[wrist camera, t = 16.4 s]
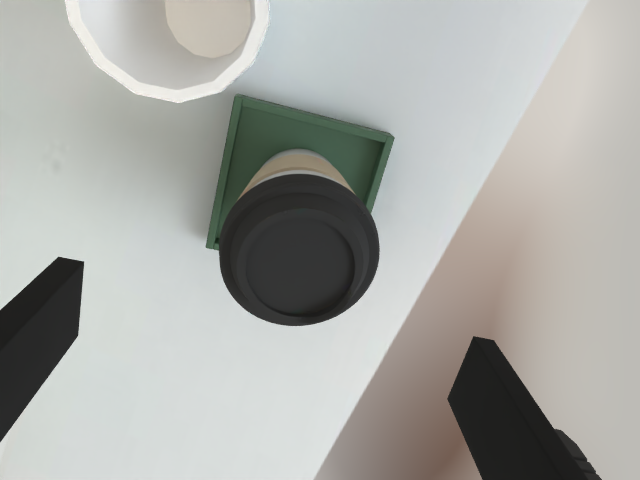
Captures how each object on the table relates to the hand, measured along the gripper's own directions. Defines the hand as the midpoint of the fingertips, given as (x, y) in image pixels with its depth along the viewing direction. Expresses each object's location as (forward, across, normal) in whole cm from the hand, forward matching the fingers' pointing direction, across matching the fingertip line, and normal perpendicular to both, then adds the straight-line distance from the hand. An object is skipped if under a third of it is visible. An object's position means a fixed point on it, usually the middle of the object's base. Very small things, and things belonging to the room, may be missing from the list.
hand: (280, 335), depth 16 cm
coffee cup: (+24, +1, -2) cm, 24 cm away
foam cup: (+25, -8, +9) cm, 28 cm away
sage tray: (+24, +1, -2) cm, 25 cm away
